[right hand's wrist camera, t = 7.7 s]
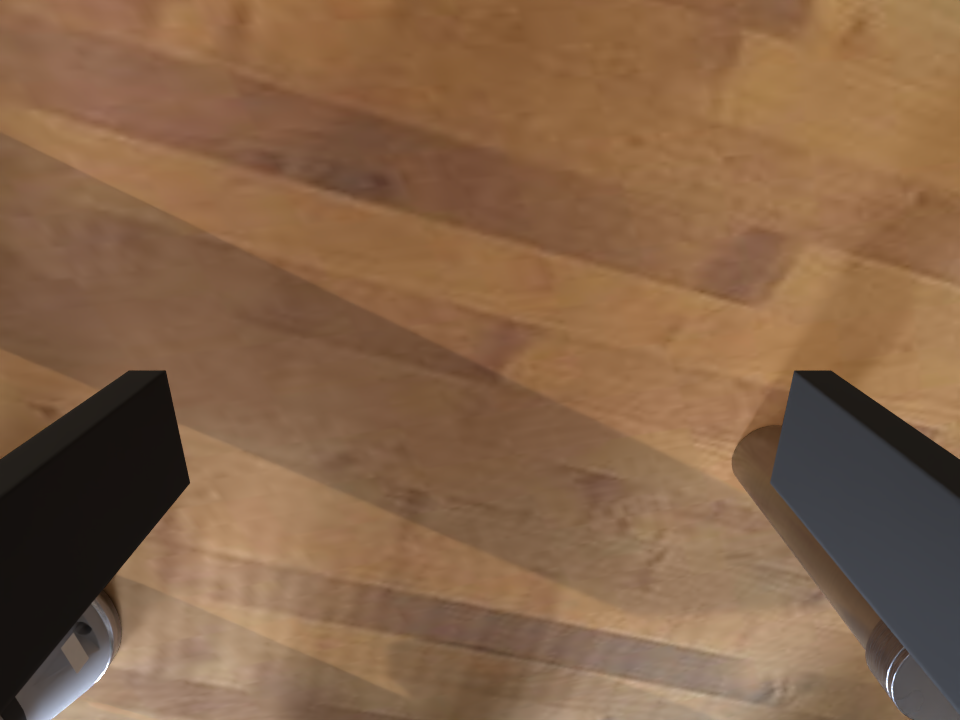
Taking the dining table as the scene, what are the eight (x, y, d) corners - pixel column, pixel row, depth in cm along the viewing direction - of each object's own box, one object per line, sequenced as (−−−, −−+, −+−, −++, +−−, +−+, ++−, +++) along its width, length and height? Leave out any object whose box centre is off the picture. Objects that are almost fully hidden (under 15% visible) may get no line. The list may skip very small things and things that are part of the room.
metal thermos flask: (805, 482, 44) (1011, 702, 27) (732, 494, 45) (890, 718, 28) (806, 419, 42) (1028, 613, 25) (730, 432, 43) (898, 632, 26)
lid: (991, 678, 29) (1027, 715, 27) (861, 696, 29) (887, 734, 27) (1009, 579, 27) (1049, 613, 25) (867, 600, 27) (896, 635, 25)
